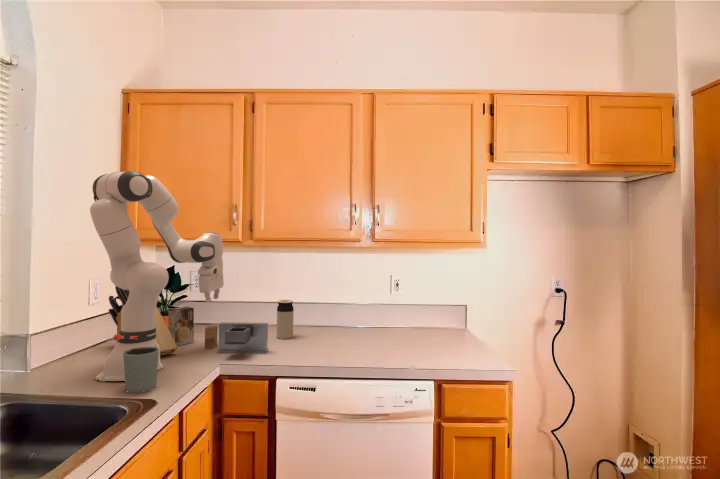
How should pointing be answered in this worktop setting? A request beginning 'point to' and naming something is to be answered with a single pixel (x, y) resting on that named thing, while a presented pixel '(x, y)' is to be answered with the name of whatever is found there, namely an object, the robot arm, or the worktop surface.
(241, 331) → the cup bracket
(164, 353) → the knife block
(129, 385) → the grey-green planter pot
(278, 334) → the travel mug
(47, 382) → the worktop surface
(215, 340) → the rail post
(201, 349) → the worktop surface
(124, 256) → the robot arm
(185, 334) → the coffee box
